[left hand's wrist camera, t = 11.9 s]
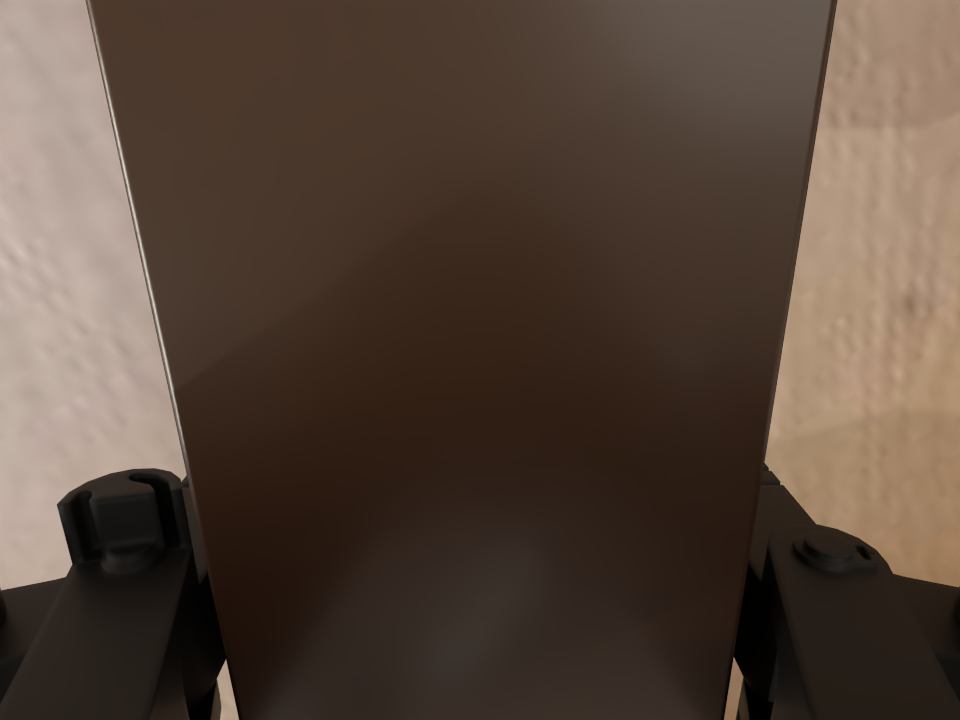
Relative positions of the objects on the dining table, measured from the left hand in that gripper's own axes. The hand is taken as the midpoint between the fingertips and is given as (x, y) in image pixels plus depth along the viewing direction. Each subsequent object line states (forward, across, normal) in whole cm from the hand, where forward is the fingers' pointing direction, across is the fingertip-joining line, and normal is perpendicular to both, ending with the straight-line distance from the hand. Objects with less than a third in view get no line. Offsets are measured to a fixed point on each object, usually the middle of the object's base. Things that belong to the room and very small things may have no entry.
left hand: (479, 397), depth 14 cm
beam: (0, 0, -12) cm, 12 cm away
